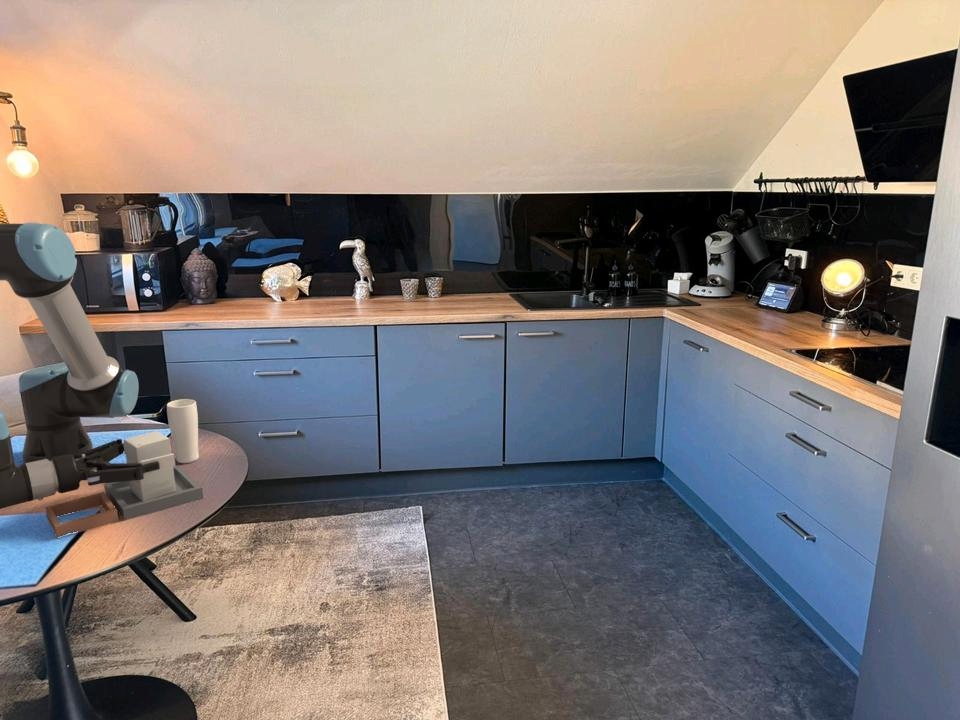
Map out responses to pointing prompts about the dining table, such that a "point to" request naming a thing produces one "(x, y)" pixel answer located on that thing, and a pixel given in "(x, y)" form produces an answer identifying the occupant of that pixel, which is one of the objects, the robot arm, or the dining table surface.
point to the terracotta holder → (84, 522)
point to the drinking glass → (184, 429)
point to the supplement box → (147, 449)
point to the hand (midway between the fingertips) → (164, 450)
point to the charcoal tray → (136, 507)
